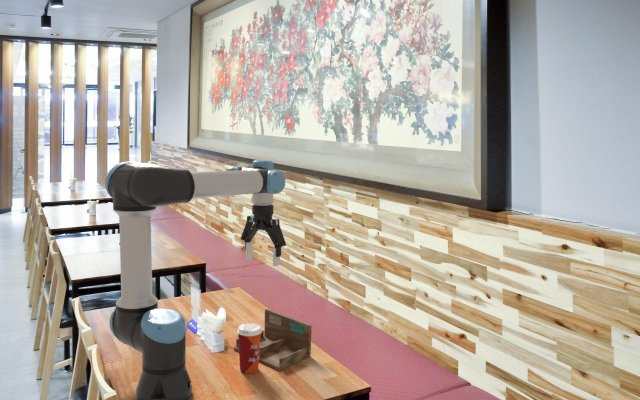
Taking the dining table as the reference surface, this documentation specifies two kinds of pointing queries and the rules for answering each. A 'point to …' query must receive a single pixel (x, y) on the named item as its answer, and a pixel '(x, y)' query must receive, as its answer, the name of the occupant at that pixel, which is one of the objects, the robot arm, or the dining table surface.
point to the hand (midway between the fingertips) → (262, 262)
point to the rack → (283, 340)
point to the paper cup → (249, 347)
